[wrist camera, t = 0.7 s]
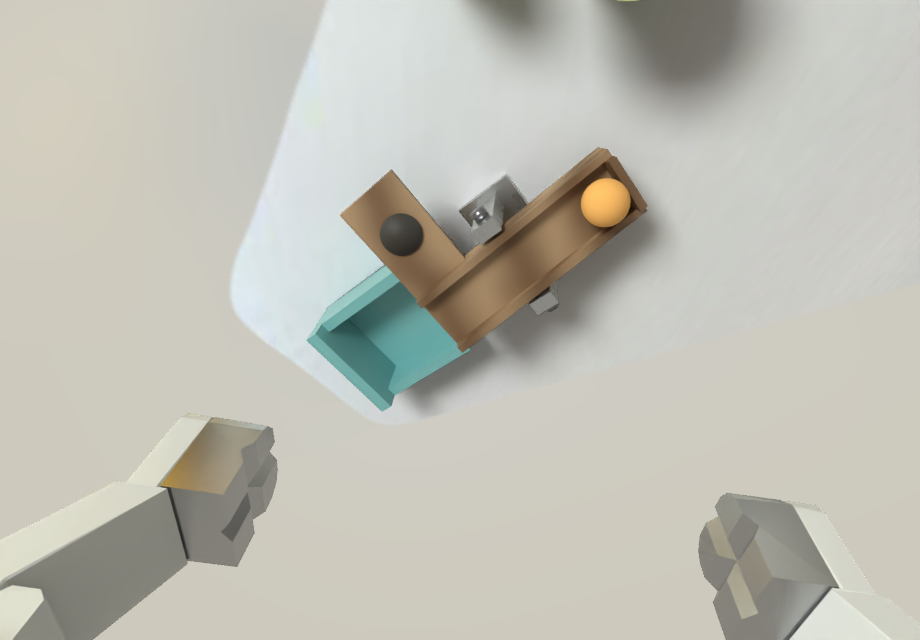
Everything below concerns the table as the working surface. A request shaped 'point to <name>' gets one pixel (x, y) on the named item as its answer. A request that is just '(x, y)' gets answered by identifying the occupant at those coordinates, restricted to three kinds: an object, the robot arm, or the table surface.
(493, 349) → the table surface
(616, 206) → the ball
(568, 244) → the lever
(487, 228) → the fulcrum
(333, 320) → the teal tray
